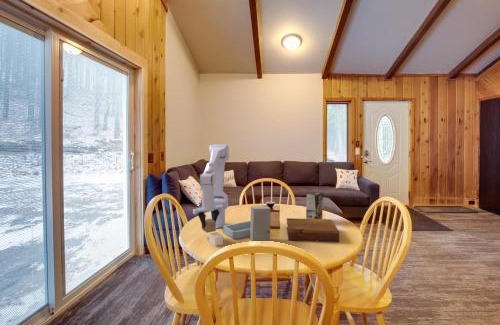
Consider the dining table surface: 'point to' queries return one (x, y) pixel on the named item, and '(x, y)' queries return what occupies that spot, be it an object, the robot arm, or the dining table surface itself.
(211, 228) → the walnut block
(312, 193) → the coffee box
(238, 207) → the dining table surface
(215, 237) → the cream box
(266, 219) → the skincare box
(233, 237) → the tote
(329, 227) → the brown flat block
